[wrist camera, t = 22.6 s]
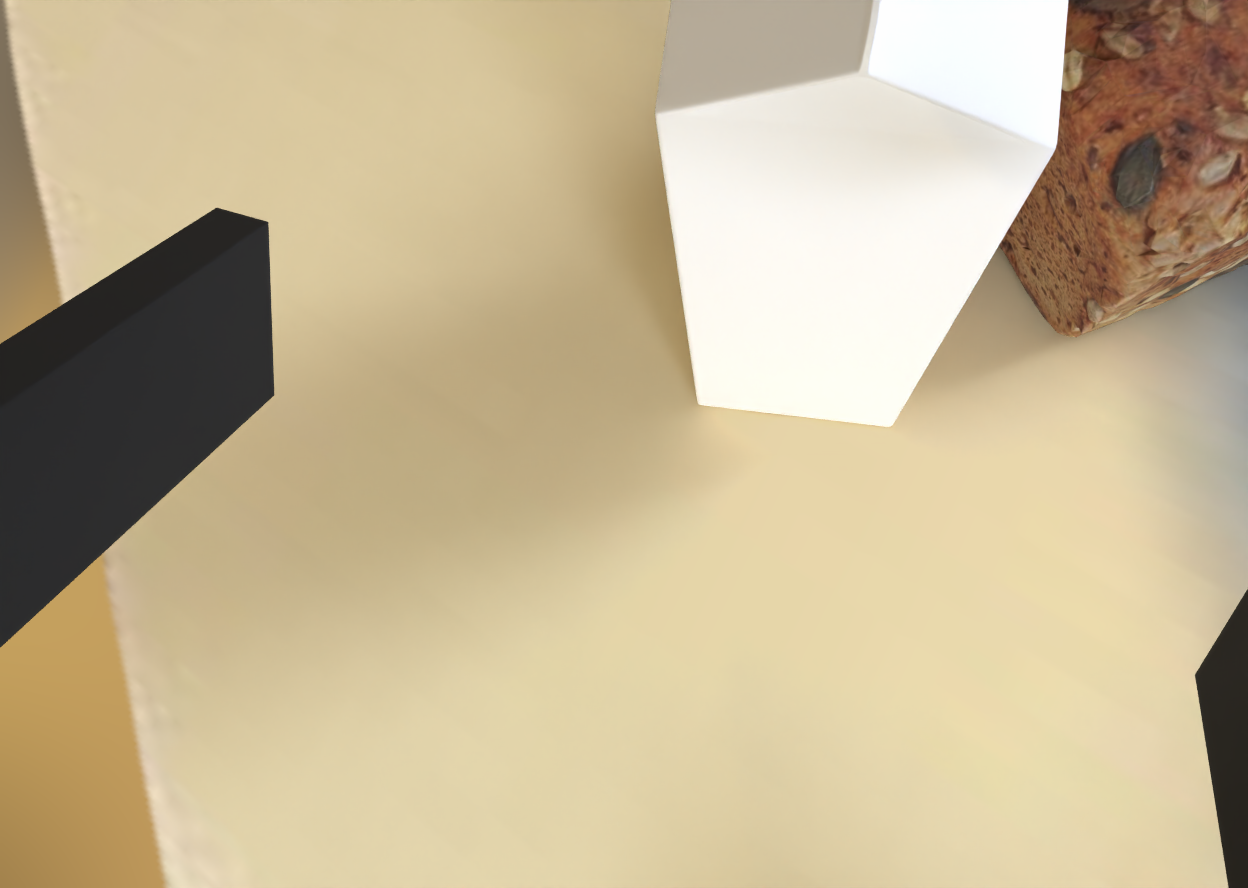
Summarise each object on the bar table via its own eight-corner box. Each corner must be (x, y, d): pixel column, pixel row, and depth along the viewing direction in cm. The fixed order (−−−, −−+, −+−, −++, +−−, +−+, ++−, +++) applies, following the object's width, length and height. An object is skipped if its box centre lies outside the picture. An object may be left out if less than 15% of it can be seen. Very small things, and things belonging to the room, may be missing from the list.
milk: (910, 244, 36) (1171, -398, 15) (891, 432, 35) (1144, 30, 14) (716, 225, 37) (698, -415, 16) (691, 408, 36) (635, -9, 14)
